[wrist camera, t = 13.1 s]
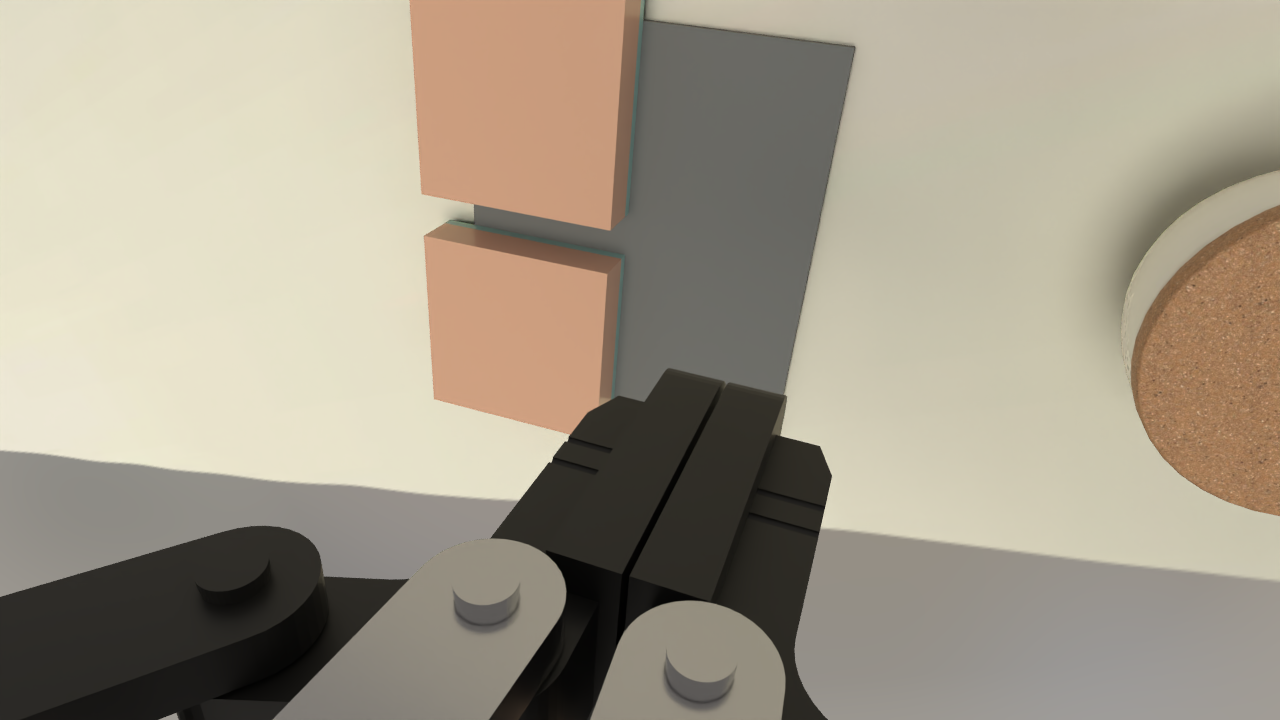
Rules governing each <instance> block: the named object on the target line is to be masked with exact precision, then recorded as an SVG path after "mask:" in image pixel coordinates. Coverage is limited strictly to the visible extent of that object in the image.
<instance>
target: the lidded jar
mask: <svg viewBox="0 0 1280 720" xmlns="http://www.w3.org/2000/svg"><path fill="white" fill-rule="evenodd" d="M1121 346H1122V353H1123V359H1124V364H1125V368H1126V373H1127V377H1128V380H1129V383H1130V386H1131V389H1132V392H1133V396H1134V401H1135V406H1136V410H1137V412H1138V414H1139V417H1140V419H1141V421H1142V423H1143V426H1144V428H1145V430H1146V432H1147V435H1148V437H1149V439H1150V440H1151V442H1152V443H1153V444H1154V446H1155V447H1156V449H1157V450H1158V451H1159V453H1160V454H1161V456H1162V457H1163V458H1164V459H1165V460H1166V461H1167V462H1168V463H1169V464H1170V465H1171V466H1172V467H1173V468H1174V469H1175V470H1176V471H1177V472H1178V473H1179V474H1180V475H1182V476H1183V477H1185V478H1186V479H1187V480H1189V481H1190V482H1192V483H1193V484H1195V485H1196V486H1198V487H1199V488H1201V489H1202V490H1204V491H1206V492H1208V493H1210V494H1212V495H1214V496H1216V497H1218V498H1220V499H1223V500H1225V501H1227V502H1230V503H1233V504H1236V505H1239V506H1242V507H1245V508H1248V509H1251V510H1254V511H1259V512H1263V513H1268V514H1273V515H1278V516H1280V170H1277V171H1274V172H1270V173H1266V174H1263V175H1259V176H1255V177H1253V178H1250V179H1247V180H1245V181H1242V182H1240V183H1237V184H1235V185H1232V186H1230V187H1227V188H1225V189H1223V190H1221V191H1219V192H1217V193H1216V194H1214V195H1212V196H1210V197H1208V198H1206V199H1204V200H1203V201H1201V202H1200V203H1198V204H1197V205H1195V206H1194V207H1192V208H1191V209H1190V210H1188V211H1187V212H1185V213H1184V214H1183V215H1181V216H1180V217H1179V218H1178V219H1177V220H1176V221H1175V222H1174V223H1172V224H1171V225H1170V226H1169V227H1168V228H1167V229H1166V230H1165V231H1164V232H1163V233H1162V234H1161V235H1160V236H1159V238H1158V239H1157V240H1156V241H1155V243H1154V244H1153V245H1152V246H1151V247H1150V249H1149V250H1148V251H1147V253H1146V254H1145V256H1144V257H1143V259H1142V261H1141V262H1140V264H1139V266H1138V267H1137V269H1136V271H1135V272H1134V274H1133V277H1132V280H1131V282H1130V285H1129V287H1128V290H1127V292H1126V297H1125V302H1124V307H1123V312H1122V320H1121Z"/></svg>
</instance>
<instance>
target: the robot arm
mask: <svg viewBox="0 0 1280 720" xmlns="http://www.w3.org/2000/svg"><path fill="white" fill-rule="evenodd" d="M786 402H787V396H786V395H781V394H777V393H773V392H769V391H765V390H761V389H756V388H752V387H748V386H744V385H740V384H735V383H731V382H728V384H727V385H726V383H725V381H722V380H718V379H714V378H710V377H705V376H701V375H697V374H693V373H689V372H685V371H680V370H676V369H672V368H668V369H666V370H665V372H664V373H663V375H662V376H661V378H660V379H659V381H658V382H657V384H656V385H655V387H654V388H653V390H652V391H651V393H650V394H649V396H648V397H647V399H646V400H645V402H643V401H639V400H635V399H631V398H627V397H623V396H617V397H615V398H613V399H611V400H610V401H608V402H606V403H604V404H602V405H600V406H598V407H597V408H595V409H593V410H591V411H589V412H587V414H586V415H585V416H584V418H583V419H582V420H581V421H580V423H579V424H578V425H577V427H576V428H575V429H574V431H573V432H572V433H571V434H570V436H569V439H568V442H564V444H563V445H562V446H561V447H560V449H559V450H558V451H557V453H556V454H555V455H554V456H553V460H552V463H550V462H549V463H548V464H547V466H546V467H545V468H544V469H543V471H542V472H541V473H540V475H539V476H538V477H537V479H536V480H535V481H534V482H533V484H532V485H531V486H530V488H529V489H528V490H527V491H526V493H525V494H524V495H523V497H522V498H521V499H520V501H519V502H518V503H517V505H516V506H515V507H514V509H513V510H512V511H511V512H510V514H509V515H508V516H507V517H506V519H505V520H504V521H503V523H502V524H501V525H500V527H499V528H498V529H497V530H496V532H495V533H494V534H493V536H492V537H491V538H490V539H479V540H474V541H469V542H465V543H462V544H458V545H456V546H453V547H451V548H448V549H446V550H444V551H442V552H440V553H439V554H437V555H436V556H435V557H433V558H431V559H430V560H429V561H428V562H427V563H425V564H424V565H423V566H422V567H421V568H420V569H419V570H418V571H417V572H416V573H415V574H414V575H413V576H412V577H411V578H410V579H404V580H403V579H402V580H386V579H365V578H343V577H324V576H323V569H322V564H321V559H320V555H319V552H318V551H317V549H316V547H315V545H314V544H313V543H312V542H311V541H310V540H309V539H307V538H306V537H304V536H303V535H301V534H300V533H297V532H294V531H292V530H289V529H284V528H280V527H272V526H251V527H244V528H237V529H233V530H229V531H225V532H221V533H217V534H214V535H211V536H207V537H204V538H201V539H197V540H193V541H190V542H187V543H183V544H180V545H176V546H173V547H170V548H166V549H163V550H160V551H156V552H152V553H149V554H146V555H142V556H139V557H135V558H132V559H129V560H126V561H122V562H119V563H115V564H112V565H108V566H104V567H101V568H98V569H95V570H91V571H87V572H84V573H81V574H77V575H74V576H70V577H67V578H64V579H60V580H57V581H53V582H50V583H46V584H43V585H40V586H36V587H33V588H29V589H26V590H23V591H19V592H16V593H12V594H9V595H6V596H2V597H0V720H159V719H161V718H163V717H166V716H169V715H172V714H174V713H177V716H178V718H179V720H828V719H827V718H825V716H823V714H822V713H821V712H820V711H819V710H818V708H817V707H816V706H815V705H814V703H813V702H812V700H811V699H810V697H809V696H808V694H807V692H806V691H805V689H804V687H803V684H802V682H801V680H800V678H799V675H798V671H797V668H796V663H795V653H794V648H795V639H796V634H797V630H798V625H799V621H800V616H801V612H802V608H803V603H804V599H805V594H806V589H807V585H808V581H809V576H810V572H811V567H812V563H813V559H814V553H815V550H816V545H817V541H818V535H819V531H820V527H821V523H822V518H823V514H824V509H825V505H826V501H827V496H828V492H829V487H830V483H831V478H832V475H831V473H830V470H829V468H828V465H827V463H826V460H825V458H824V455H823V453H822V450H821V448H820V446H817V445H813V444H809V443H805V442H801V441H797V440H793V439H789V438H785V437H782V436H780V434H781V429H782V424H783V419H784V414H785V408H786Z"/></svg>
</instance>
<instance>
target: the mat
mask: <svg viewBox="0 0 1280 720" xmlns="http://www.w3.org/2000/svg"><path fill="white" fill-rule="evenodd" d="M854 50H855V47H853V46H845V45H838V44H830V43H822V42H814V41H806V40H799V39H791V38H783V37H775V36H767V35H760V34H752V33H744V32H736V31H728V30H721V29H713V28H705V27H697V26H689V25H682V24H674V23H666V22H658V21H650V20H643V30H642V43H641V56H640V69H639V82H638V95H637V108H636V121H635V134H634V147H633V160H632V173H631V186H630V199H629V212H628V214H627V215H626V216H625V217H624V218H623V219H622V220H621V221H620V222H619V223H618V224H617V225H616V226H615V227H614V228H613V229H612V230H611V231H609V230H604V229H599V228H594V227H589V226H584V225H578V224H573V223H568V222H563V221H558V220H553V219H548V218H542V217H537V216H532V215H527V214H522V213H517V212H512V211H506V210H501V209H496V208H491V207H486V206H481V205H475V204H474V224H475V225H478V226H483V227H488V228H493V229H498V230H503V231H508V232H513V233H518V234H523V235H528V236H533V237H538V238H543V239H548V240H553V241H558V242H563V243H568V244H573V245H578V246H583V247H588V248H593V249H598V250H603V251H608V252H613V253H618V254H623V255H625V261H624V274H623V287H622V300H621V314H620V327H619V340H618V353H617V366H616V379H615V392H614V398H615V397H617V396H623V397H627V398H631V399H635V400H639V401H643V402H645V400H646V399H647V397H648V396H649V394H650V393H651V391H652V390H653V388H654V387H655V385H656V384H657V382H658V381H659V379H660V378H661V376H662V375H663V373H664V372H665V370H666V369H668V368H672V369H676V370H680V371H685V372H689V373H693V374H697V375H701V376H705V377H710V378H714V379H718V380H722V381H725V383H726V385H727V384H728V382H731V383H735V384H740V385H744V386H748V387H752V388H756V389H761V390H765V391H769V392H773V393H777V394H781V395H783V394H784V390H785V385H786V380H787V375H788V370H789V365H790V361H791V356H792V351H793V346H794V341H795V336H796V331H797V327H798V322H799V317H800V312H801V307H802V302H803V298H804V293H805V288H806V283H807V278H808V273H809V268H810V264H811V259H812V254H813V249H814V244H815V239H816V235H817V230H818V225H819V220H820V215H821V210H822V206H823V201H824V196H825V191H826V186H827V181H828V176H829V172H830V167H831V162H832V157H833V152H834V147H835V143H836V138H837V133H838V128H839V123H840V118H841V113H842V109H843V104H844V99H845V94H846V89H847V84H848V80H849V75H850V70H851V65H852V60H853V55H854Z"/></svg>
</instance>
